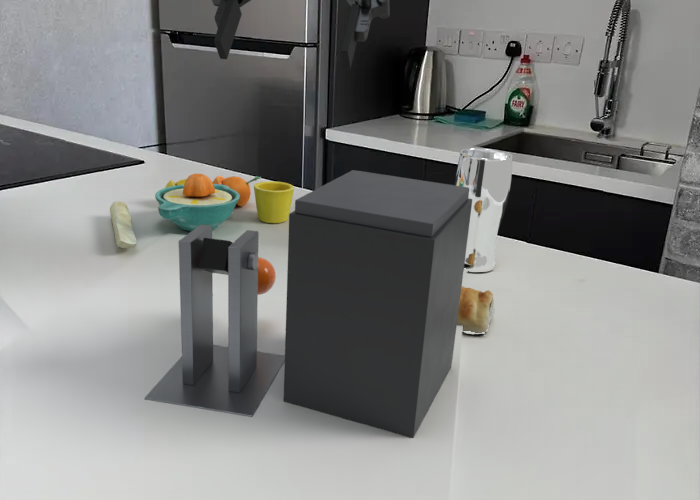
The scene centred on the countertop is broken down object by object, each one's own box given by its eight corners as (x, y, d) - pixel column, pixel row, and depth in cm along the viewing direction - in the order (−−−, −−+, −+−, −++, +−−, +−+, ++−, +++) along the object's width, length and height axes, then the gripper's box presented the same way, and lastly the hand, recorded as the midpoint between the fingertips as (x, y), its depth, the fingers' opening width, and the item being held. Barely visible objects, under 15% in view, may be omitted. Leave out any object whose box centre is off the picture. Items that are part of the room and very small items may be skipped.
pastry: (399, 323, 72) (402, 290, 71) (412, 300, 78) (415, 269, 77) (489, 340, 70) (493, 306, 69) (494, 314, 76) (499, 282, 75)
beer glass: (482, 254, 94) (496, 147, 89) (508, 273, 88) (525, 159, 83) (436, 257, 92) (449, 147, 87) (460, 276, 86) (475, 160, 81)
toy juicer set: (234, 193, 116) (234, 148, 113) (301, 221, 104) (302, 171, 101) (64, 220, 98) (60, 166, 95) (120, 258, 85) (117, 198, 82)
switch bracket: (194, 352, 64) (191, 212, 59) (287, 366, 62) (291, 223, 58) (144, 410, 55) (136, 249, 50) (252, 429, 53) (254, 264, 48)
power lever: (241, 294, 67) (247, 258, 68) (276, 299, 66) (282, 263, 67) (188, 273, 53) (196, 229, 54) (232, 279, 53) (240, 234, 53)
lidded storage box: (271, 409, 56) (277, 198, 50) (330, 347, 66) (340, 167, 60) (411, 450, 52) (436, 225, 46) (450, 377, 62) (474, 187, 56)
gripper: (427, -52, 82) (400, 89, 73) (229, -63, 85) (181, 69, 77) (428, -109, 75) (399, 38, 66) (212, -118, 79) (158, 20, 70)
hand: (281, 55), depth 71 cm, fingers open, 13 cm apart
